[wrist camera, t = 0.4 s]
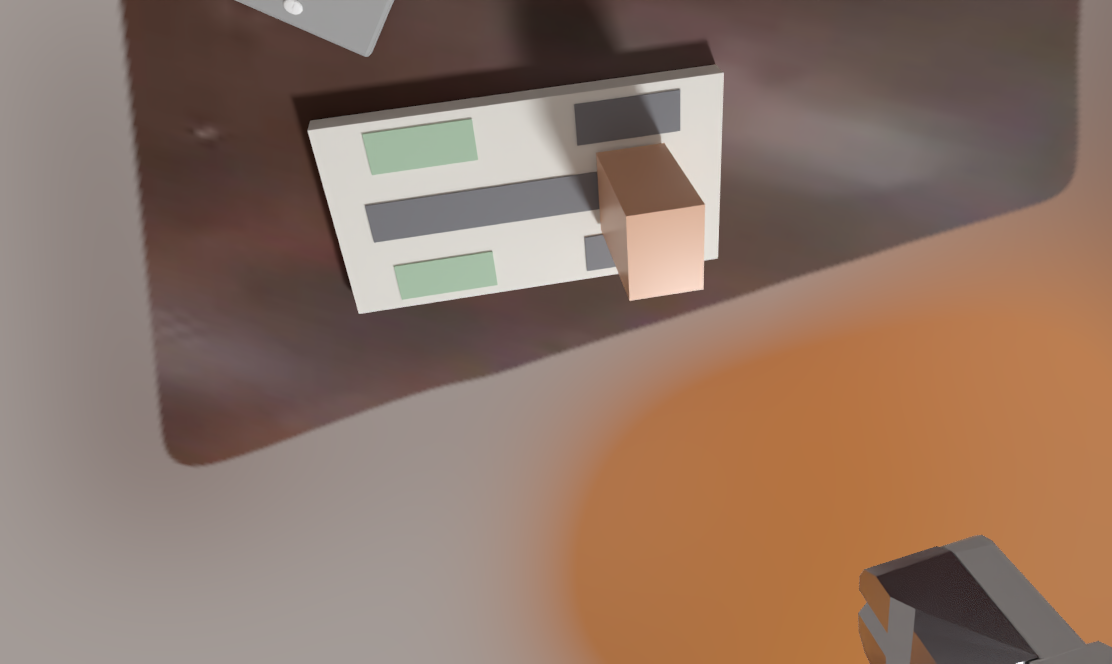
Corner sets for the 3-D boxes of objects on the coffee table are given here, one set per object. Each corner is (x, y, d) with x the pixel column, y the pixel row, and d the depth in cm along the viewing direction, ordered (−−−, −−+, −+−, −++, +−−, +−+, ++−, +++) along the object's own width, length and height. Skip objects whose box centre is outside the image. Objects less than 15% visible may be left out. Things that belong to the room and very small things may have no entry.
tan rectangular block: (595, 152, 46) (626, 216, 40) (664, 142, 47) (704, 204, 40) (600, 229, 49) (629, 300, 43) (665, 220, 50) (703, 289, 43)
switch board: (310, 120, 45) (307, 131, 44) (715, 64, 46) (724, 73, 45) (360, 300, 52) (358, 314, 51) (710, 247, 53) (718, 259, 52)
